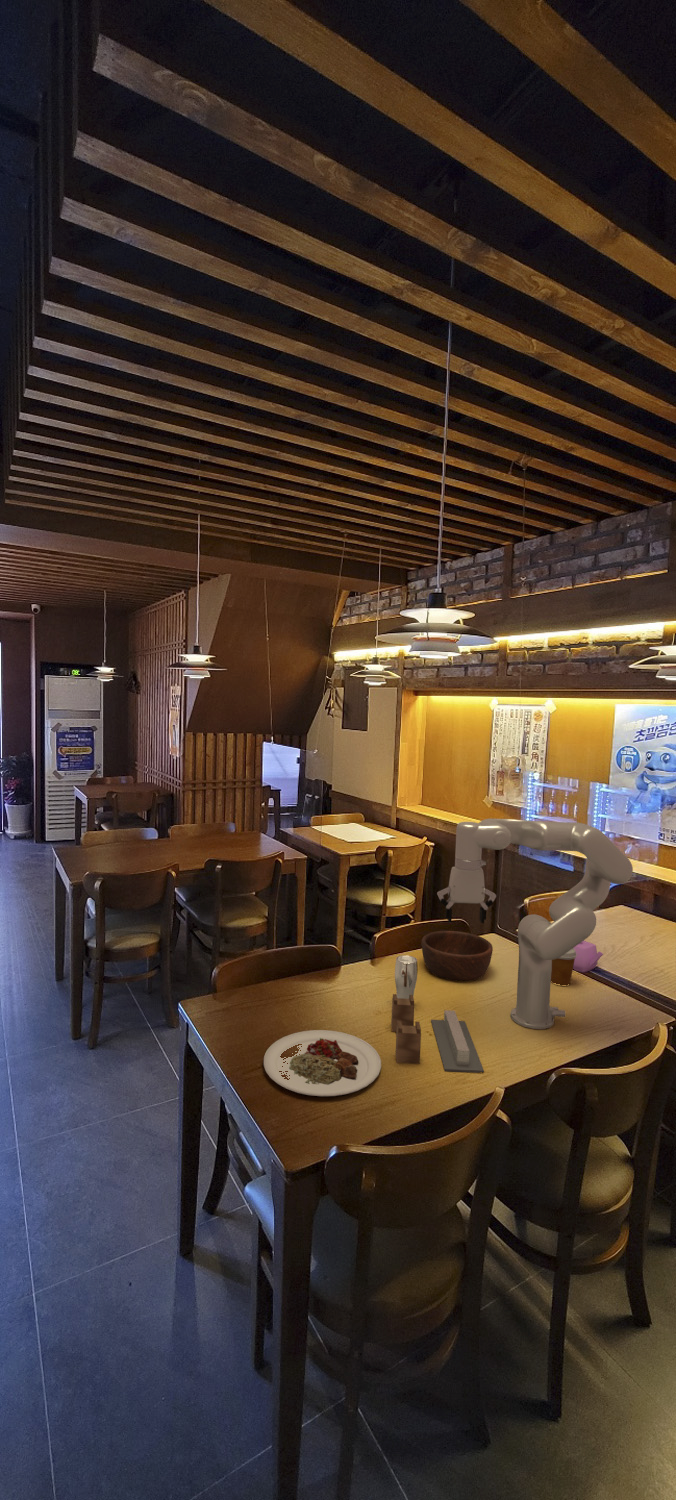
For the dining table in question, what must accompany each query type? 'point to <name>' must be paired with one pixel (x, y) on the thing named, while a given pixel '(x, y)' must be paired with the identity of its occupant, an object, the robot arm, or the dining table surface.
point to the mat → (447, 1051)
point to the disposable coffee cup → (563, 968)
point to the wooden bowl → (456, 955)
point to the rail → (456, 1038)
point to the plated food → (323, 1063)
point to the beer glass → (405, 976)
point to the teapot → (586, 957)
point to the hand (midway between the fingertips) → (465, 921)
